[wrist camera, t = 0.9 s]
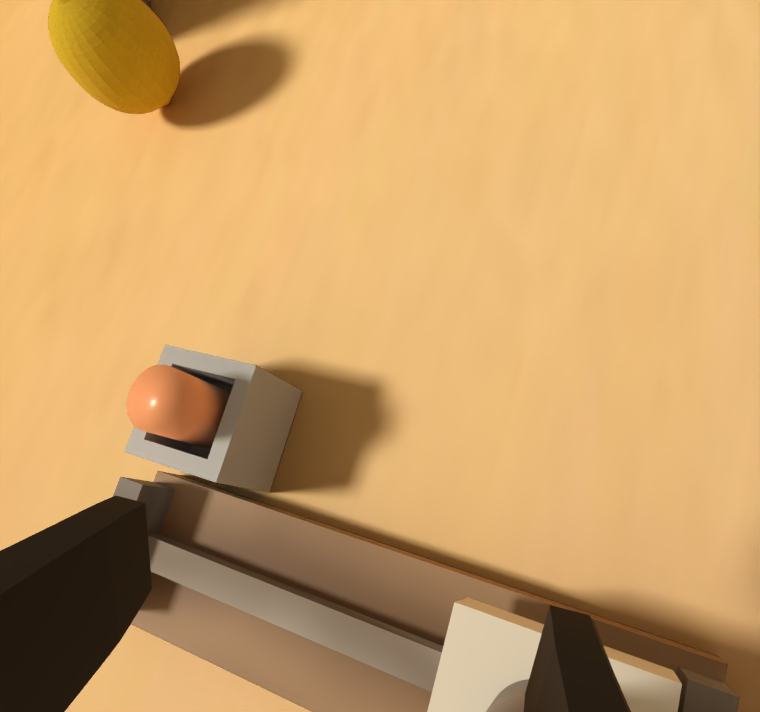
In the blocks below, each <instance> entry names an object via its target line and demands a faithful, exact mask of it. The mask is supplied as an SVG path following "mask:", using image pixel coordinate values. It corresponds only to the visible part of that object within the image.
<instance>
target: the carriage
mask: <svg viewBox="0 0 760 712" xmlns="http://www.w3.org/2000/svg"><path fill="white" fill-rule="evenodd" d="M543 627H544V624H541V623H539V622H536V621H533V620H530V619H527V618H524V617H522V616H519V615H516V614H513V613H510V612H507V611H505V610H502V609H499V608H496V607H493V606H490V605H488V604H485V603H482V602H479V601H476V600H474V599H471V598H465V599H462V600H459V601H456V602H454V606H453V610H452V614H451V618H450V622H449V626H448V630H447V634H446V638H445V642H444V646H443V650H442V654H441V658H440V662H439V666H438V670H437V674H436V678H435V682H434V686H433V691H432V695H431V699H430V703H429V707H428V711H427V712H524V701H525V692H526V689H527V685H528V681H529V678H530V674H531V670H532V667H533V663H534V660H535V656H536V652H537V649H538V645H539V642H540V638H541V634H542V631H543ZM604 649H605V651H606V654H607V656H608V659H609V661H610V664H611V666H612V669H613V671H614V674H615V676H616V678H617V681H618V683H619V685H620V687H621V690H622V692H623V694H624V697H625V699H626V701H627V704H628V706H629V708H630V710H631V712H678V706H679V700H680V694H681V688H682V683H681V682H680V680H679V679H678V677H677V675H676V674H675V672H674V671H673V670H671V669H668V668H666V667H663V666H660V665H657V664H654V663H652V662H649V661H646V660H643V659H640V658H637V657H635V656H632V655H629V654H626V653H623V652H620V651H618V650H615V649H612V648H609V647H606V646H604Z"/></svg>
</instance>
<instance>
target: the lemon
mask: <svg viewBox="0 0 760 712" xmlns="http://www.w3.org/2000/svg"><path fill="white" fill-rule="evenodd" d="M48 29H49V36H50V39H51V42H52V45H53V47H54V50H55V52H56V54H57V56H58V58H59V59H60V61H61V63H62V64H63V65H64V67H65V68H66V70H67V71H68V72H69V74H70V75H71V76H72V77H73V78H74V79H75V81H76V82H77V83H78V84H79V85H80V86H81V87H82V88H83V89H84V90H85V91H86V92H88V93H89V94H90V95H91V96H92V97H94V98H95V99H96V100H98V101H99V102H101V103H102V104H104V105H106V106H108V107H110V108H113V109H115V110H118V111H120V112H124V113H129V114H144V113H149V112H152V111H154V110H156V109H159V108H160V107H162V106H166V105H168V104H169V103H170V101H171V97H172V96H173V94H174V92H175V90H176V88H177V86H178V82H179V77H180V61H179V56H178V53H177V50H176V47H175V44H174V42H173V39H172V37H171V35H170V34H169V32H168V30H167V29H166V27H165V26H164V24H163V23H162V22H161V21H160V19H159V18H158V17H157V16H156V15H155V14H154V12H153V11H152V10H151V9H150V8H149V7H148V6H147V5H146V4H145V3H144V2H143V1H141V0H53V1H52V4H51V6H50V11H49V16H48Z"/></svg>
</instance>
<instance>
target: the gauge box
mask: <svg viewBox="0 0 760 712" xmlns="http://www.w3.org/2000/svg"><path fill="white" fill-rule="evenodd" d="M158 365H168V366H171V367H174V368H176V369H178V370H180V371H183V372H185V373H187V374H189V375H192V376H194V377H196V378H199V379H201V380H203V381H205V382H208V383H210V384H212V385H214V386H217V387H219V388H221V389H224V390H226V391H227V392H229V393H230V396H229V399H228V402H227V405H226V408H225V411H224V413H223V416H222V419H221V422H220V425H219V428H218V431H217V433H216V436H215V439H214V442H213V445H212V447H208V448H207V447H201V446H197V445H193V444H189V443H186V442H182V441H178V440H175V439H171V438H167V437H164V436H160V435H156V434H153V433H149V432H145V431H142V430H139V429H138V428H136V427H135V426H134V428H133V431H132V433H131V436H130V439H129V441H128V444H127V447H126V449H125V453H128V454H131V455H134V456H137V457H140V458H143V459H146V460H149V461H152V462H155V463H158V464H161V465H164V466H167V467H170V468H173V469H176V470H180V471H183V472H186V473H189V474H192V475H195V476H198V477H201V478H204V479H207V480H210V481H213V482H216V483H221V484H226V485H231V486H237V487H242V488H247V489H253V490H258V491H263V492H269V493H270V490H271V487H272V483H273V480H274V477H275V474H276V471H277V468H278V465H279V462H280V459H281V456H282V452H283V449H284V446H285V443H286V440H287V437H288V434H289V431H290V428H291V425H292V421H293V418H294V415H295V412H296V409H297V406H298V403H299V400H300V397H301V394H302V390H300V389H298V388H296V387H294V386H293V385H291V384H289V383H287V382H285V381H283V380H282V379H280V378H278V377H276V376H274V375H273V374H271V373H269V372H267V371H265V370H264V369H262V368H260V367H258V366H256V365H252V364H248V363H243V362H239V361H235V360H230V359H226V358H221V357H217V356H213V355H208V354H204V353H200V352H195V351H191V350H186V349H182V348H178V347H173V346H169V345H165V347H164V349H163V352H162V354H161V357H160V360H159V362H158Z"/></svg>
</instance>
